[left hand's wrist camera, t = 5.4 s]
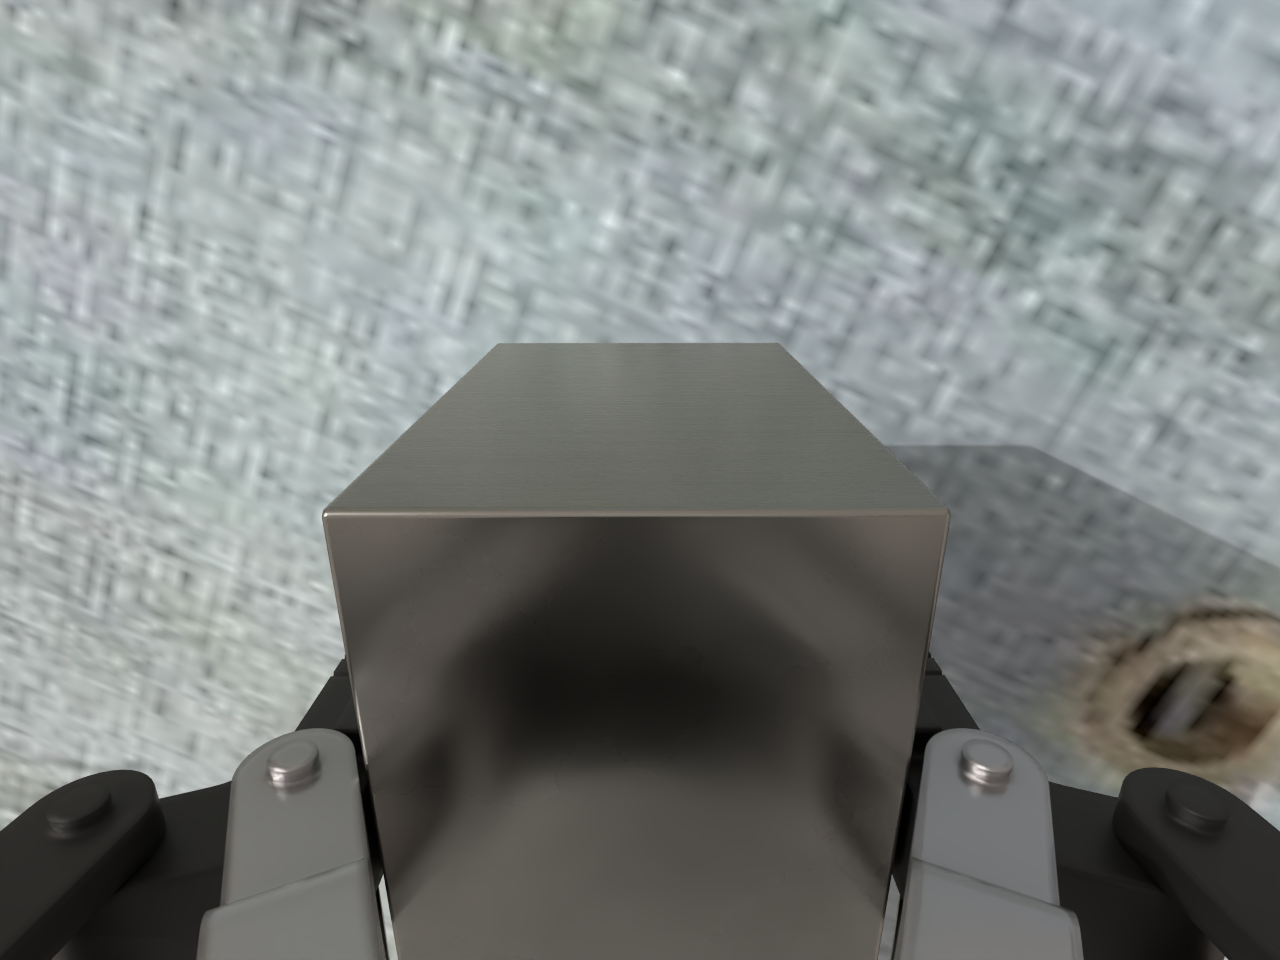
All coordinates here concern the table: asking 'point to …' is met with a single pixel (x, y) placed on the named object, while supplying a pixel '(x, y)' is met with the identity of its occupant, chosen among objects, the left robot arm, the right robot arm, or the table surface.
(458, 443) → the bar
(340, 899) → the left robot arm
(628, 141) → the table surface
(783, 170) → the table surface
